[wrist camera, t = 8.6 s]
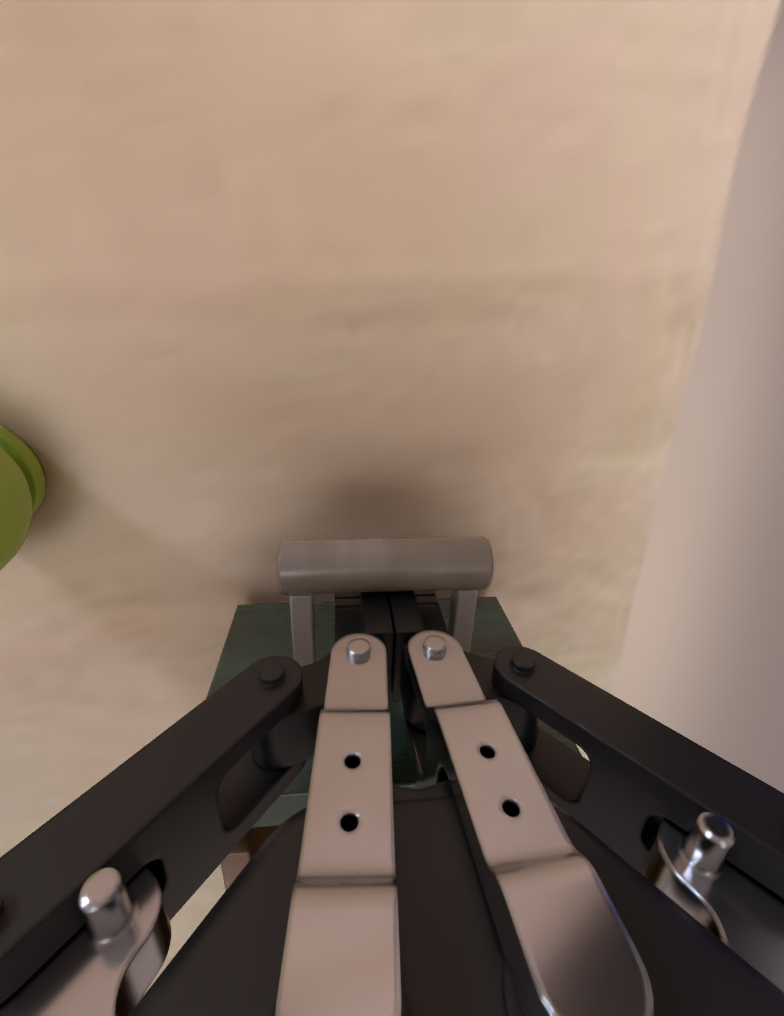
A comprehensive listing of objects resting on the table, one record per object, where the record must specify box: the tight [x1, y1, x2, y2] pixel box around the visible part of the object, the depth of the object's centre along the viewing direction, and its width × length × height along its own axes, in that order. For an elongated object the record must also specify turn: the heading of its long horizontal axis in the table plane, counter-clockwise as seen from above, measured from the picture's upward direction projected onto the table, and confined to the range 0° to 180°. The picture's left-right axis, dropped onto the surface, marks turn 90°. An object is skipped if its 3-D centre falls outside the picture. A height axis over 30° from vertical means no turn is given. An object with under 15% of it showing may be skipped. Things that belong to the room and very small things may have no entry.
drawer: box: [206, 537, 581, 890], centre depth 17 cm, size 20×10×8 cm, turn 178°
